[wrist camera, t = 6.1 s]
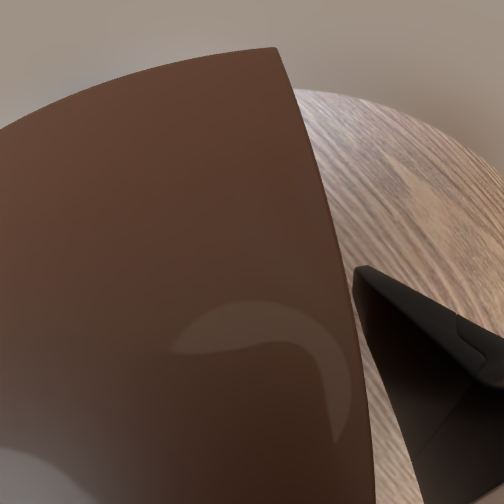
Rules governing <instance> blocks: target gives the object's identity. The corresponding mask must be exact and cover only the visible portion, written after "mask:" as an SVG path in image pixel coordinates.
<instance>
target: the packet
mask: <svg viewBox="0 0 504 504" xmlns="http://www.w3.org/2000/svg"><path fill="white" fill-rule="evenodd" d="M0 504H376V495H375V475H374V461H373V448H372V437H371V427H370V418H369V409H368V401H367V393H366V386H365V379H364V372H363V365H362V359H361V353H360V347H359V341H358V335H357V329H356V324H355V318H354V313H353V308H352V303H351V298H350V293H349V288H348V283H347V279H346V274H345V270H344V265H343V261H342V256H341V252H340V248H339V244H338V240H337V236H336V232H335V228H334V224H333V220H332V216H331V212H330V208H329V204H328V201H327V197H326V193H325V190H324V186H323V183H322V179H321V176H320V172H319V169H318V166H317V162H316V159H315V156H314V152H313V149H312V146H311V143H310V140H309V136H308V133H307V130H306V127H305V124H304V121H303V118H302V115H301V112H300V109H299V106H298V104H297V101H296V98H295V95H294V92H293V89H292V87H291V84H290V81H289V78H288V76H287V73H286V71H285V68H284V65H283V63H282V60H281V57H280V55H279V52H278V50H277V48H275V47H270V48H259V49H250V50H242V51H235V52H228V53H222V54H215V55H209V56H203V57H199V58H193V59H188V60H184V61H179V62H175V63H170V64H166V65H162V66H158V67H154V68H151V69H147V70H143V71H140V72H136V73H133V74H129V75H126V76H123V77H120V78H117V79H114V80H111V81H108V82H105V83H102V84H99V85H96V86H94V87H91V88H88V89H86V90H83V91H80V92H78V93H75V94H73V95H70V96H68V97H66V98H63V99H61V100H59V101H56V102H54V103H52V104H49V105H47V106H45V107H43V108H41V109H39V110H37V111H35V112H33V113H30V114H28V115H26V116H24V117H23V118H21V119H19V120H17V121H15V122H13V123H11V124H9V125H8V126H6V127H4V128H2V129H0Z"/></svg>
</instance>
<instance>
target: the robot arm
mask: <svg viewBox="0 0 504 504" xmlns="http://www.w3.org/2000/svg"><path fill="white" fill-rule="evenodd" d="M352 295H353V299H354V302H355V306H356V309H357V312H358V316H359V319H360V322H361V326H362V329H363V333H364V336H365V339H366V342H367V345H368V347H369V349H370V352H371V354H372V357H373V359H374V362H375V364H376V366H377V369H378V371H379V374H380V376H381V379H382V382H383V384H384V387H385V389H386V392H387V394H388V397H389V400H390V402H391V405H392V408H393V410H394V413H395V416H396V418H397V421H398V424H399V427H400V430H401V432H402V435H403V438H404V441H405V444H406V447H407V450H408V453H409V456H410V459H411V462H412V465H413V468H414V472H415V475H416V478H417V481H418V484H419V488H420V491H421V494H422V498H423V501H424V504H504V338H502V337H500V336H498V335H496V334H494V333H492V332H490V331H488V330H486V329H484V328H482V327H480V326H478V325H476V324H475V323H473V322H471V321H469V320H467V319H466V318H464V317H462V316H460V315H459V314H457V315H456V313H455V312H453V311H451V310H450V309H448V308H446V307H444V306H443V305H441V304H439V303H437V302H435V301H434V300H432V299H430V298H428V297H426V296H425V295H423V294H421V293H419V292H417V291H415V290H414V289H412V288H410V287H408V286H406V285H404V284H403V283H401V282H399V281H397V280H395V279H393V278H391V277H389V276H388V275H386V274H384V273H382V272H380V271H378V270H376V269H374V268H372V267H371V266H368V265H365V266H359V267H356V268H355V269H354V273H353V286H352Z"/></svg>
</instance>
